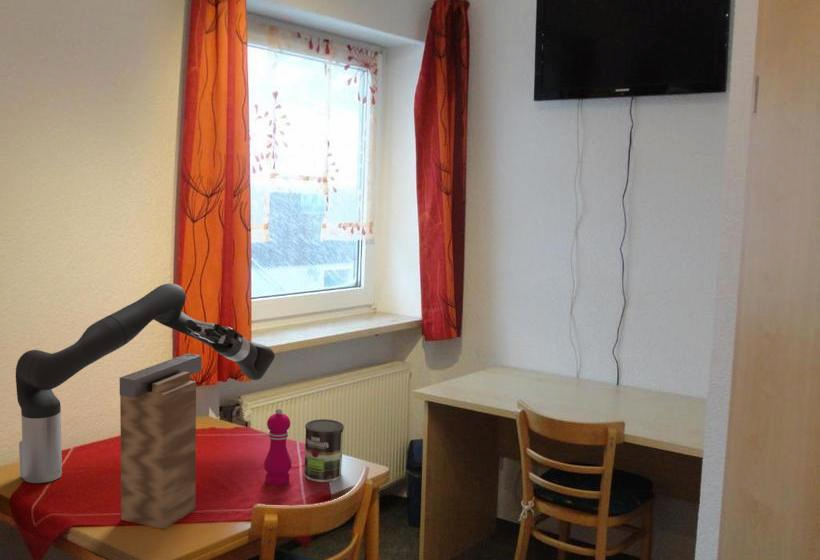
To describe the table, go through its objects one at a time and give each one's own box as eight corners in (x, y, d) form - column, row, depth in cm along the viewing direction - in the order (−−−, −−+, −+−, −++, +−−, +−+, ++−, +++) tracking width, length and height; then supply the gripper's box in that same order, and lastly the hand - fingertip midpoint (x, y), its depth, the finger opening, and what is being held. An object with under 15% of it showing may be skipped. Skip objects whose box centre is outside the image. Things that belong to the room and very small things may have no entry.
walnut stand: (121, 519, 192) (120, 378, 187) (153, 499, 203) (153, 366, 198) (164, 529, 188) (164, 385, 183) (195, 509, 199) (196, 373, 194)
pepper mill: (285, 487, 214) (287, 413, 211) (259, 484, 216) (260, 410, 212) (294, 477, 221) (296, 405, 218) (269, 473, 223) (271, 402, 219)
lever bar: (119, 395, 181) (119, 377, 180) (187, 369, 204) (187, 353, 204) (134, 397, 180) (134, 380, 179) (201, 371, 203) (201, 355, 202)
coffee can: (331, 485, 217) (332, 434, 215) (296, 477, 221) (298, 427, 219) (348, 472, 227) (350, 422, 224) (315, 465, 230) (316, 416, 228)
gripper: (213, 328, 232) (182, 308, 218) (257, 335, 227) (228, 314, 213) (205, 353, 230) (173, 335, 215) (249, 360, 225) (220, 341, 210)
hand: (201, 324), depth 214 cm, fingers open, 8 cm apart
